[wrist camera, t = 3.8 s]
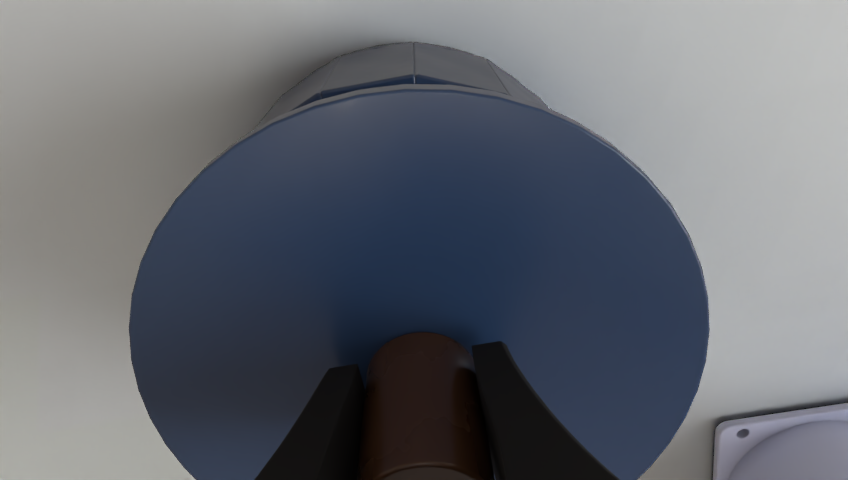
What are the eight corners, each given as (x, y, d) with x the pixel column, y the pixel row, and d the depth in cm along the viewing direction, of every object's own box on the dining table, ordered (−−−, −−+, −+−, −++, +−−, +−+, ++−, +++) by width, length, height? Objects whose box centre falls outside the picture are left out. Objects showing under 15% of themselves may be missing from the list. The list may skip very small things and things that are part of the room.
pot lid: (694, 19, 11) (871, 68, 7) (685, 492, 16) (780, 681, 12) (51, 139, 12) (-149, 250, 8) (246, 554, 17) (193, 753, 13)
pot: (559, 11, 18) (615, 36, 14) (581, 317, 24) (627, 417, 19) (200, 78, 19) (129, 126, 14) (296, 363, 24) (268, 471, 19)
